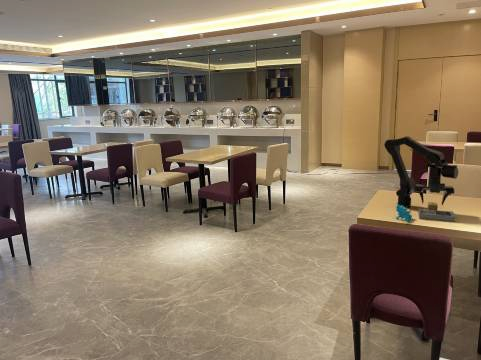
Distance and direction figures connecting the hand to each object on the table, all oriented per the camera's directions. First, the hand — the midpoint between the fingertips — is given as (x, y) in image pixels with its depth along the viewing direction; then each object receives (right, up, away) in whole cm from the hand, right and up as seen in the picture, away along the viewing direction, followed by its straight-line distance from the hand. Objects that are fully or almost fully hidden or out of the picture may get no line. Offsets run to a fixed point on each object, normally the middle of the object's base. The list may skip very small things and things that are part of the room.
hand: (432, 204), depth 199 cm
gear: (-20, -7, -12) cm, 25 cm away
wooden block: (0, -4, +1) cm, 4 cm away
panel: (-3, -6, -10) cm, 12 cm away
